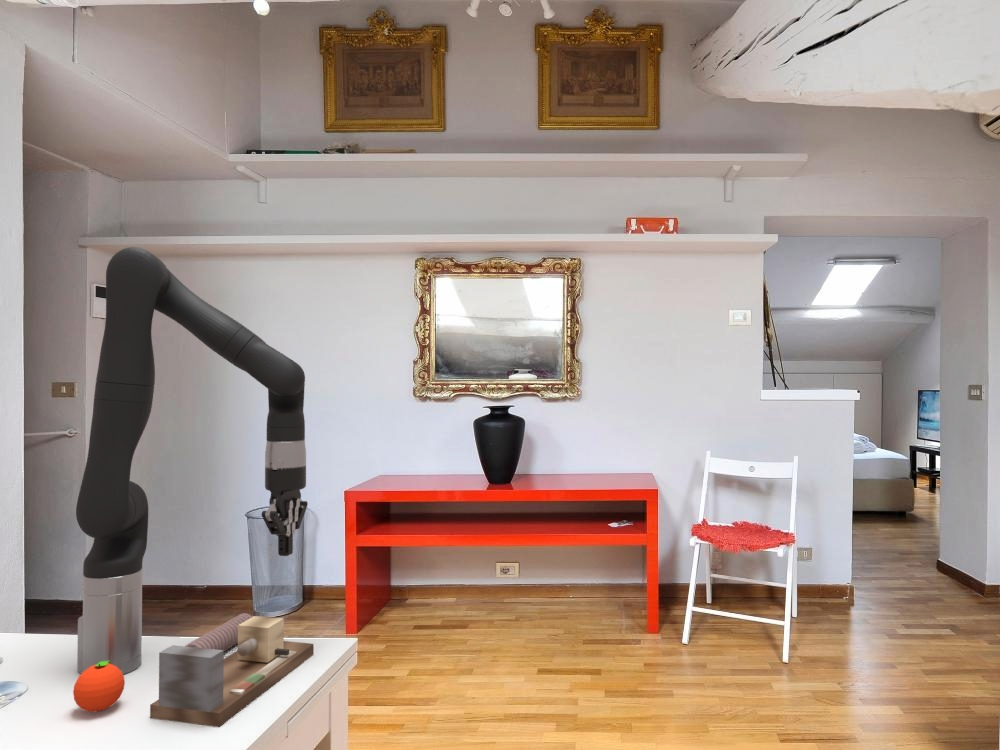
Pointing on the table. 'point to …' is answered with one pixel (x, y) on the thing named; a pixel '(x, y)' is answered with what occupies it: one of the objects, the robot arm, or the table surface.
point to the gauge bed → (230, 682)
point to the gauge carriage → (261, 639)
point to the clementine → (98, 687)
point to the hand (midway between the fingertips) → (285, 554)
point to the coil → (221, 635)
